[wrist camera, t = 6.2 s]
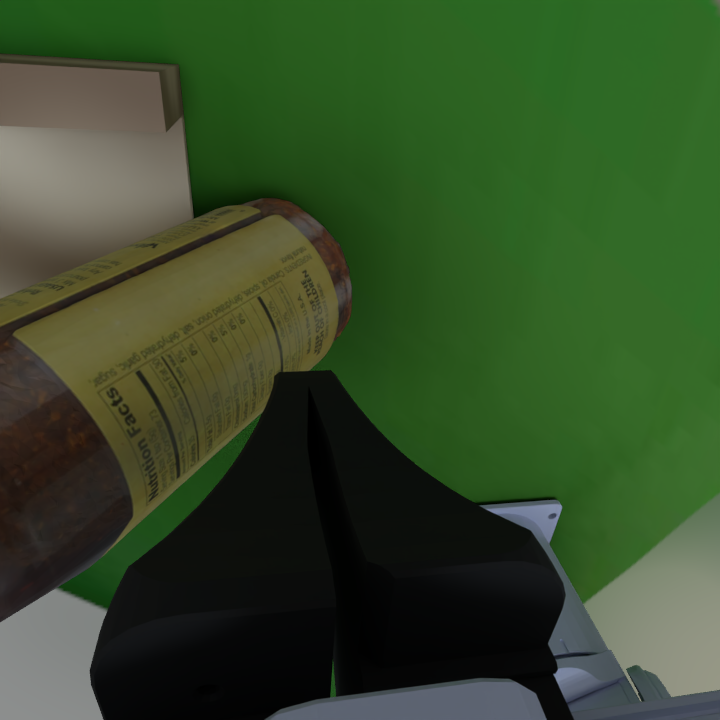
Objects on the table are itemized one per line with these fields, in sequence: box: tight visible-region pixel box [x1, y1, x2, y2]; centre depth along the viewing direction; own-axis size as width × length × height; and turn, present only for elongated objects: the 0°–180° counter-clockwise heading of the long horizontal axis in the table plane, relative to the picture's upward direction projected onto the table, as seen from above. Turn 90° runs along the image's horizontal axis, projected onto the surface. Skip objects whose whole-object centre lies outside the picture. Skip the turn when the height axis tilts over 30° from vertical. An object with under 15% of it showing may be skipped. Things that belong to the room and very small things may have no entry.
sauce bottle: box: [0, 198, 352, 622], centre depth 13 cm, size 6×6×20 cm
